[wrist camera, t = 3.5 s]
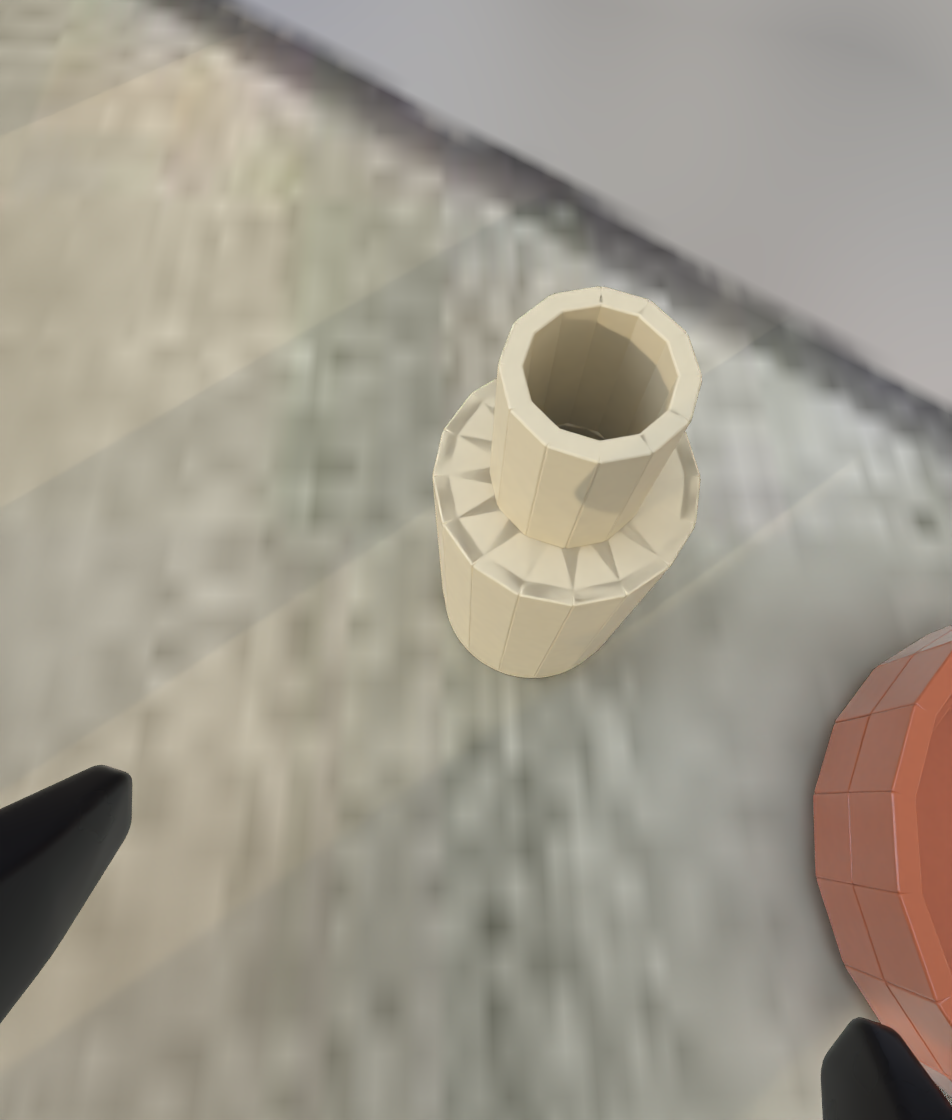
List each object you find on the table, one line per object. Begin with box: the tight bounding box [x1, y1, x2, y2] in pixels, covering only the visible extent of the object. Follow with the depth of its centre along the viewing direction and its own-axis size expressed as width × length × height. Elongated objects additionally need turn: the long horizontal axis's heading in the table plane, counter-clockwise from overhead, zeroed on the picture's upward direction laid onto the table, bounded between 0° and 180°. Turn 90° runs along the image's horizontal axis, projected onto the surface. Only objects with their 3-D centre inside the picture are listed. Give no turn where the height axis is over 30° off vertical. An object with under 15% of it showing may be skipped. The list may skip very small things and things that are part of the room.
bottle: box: [433, 286, 702, 678], centre depth 18 cm, size 6×6×13 cm
